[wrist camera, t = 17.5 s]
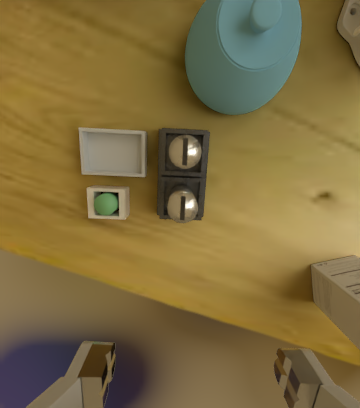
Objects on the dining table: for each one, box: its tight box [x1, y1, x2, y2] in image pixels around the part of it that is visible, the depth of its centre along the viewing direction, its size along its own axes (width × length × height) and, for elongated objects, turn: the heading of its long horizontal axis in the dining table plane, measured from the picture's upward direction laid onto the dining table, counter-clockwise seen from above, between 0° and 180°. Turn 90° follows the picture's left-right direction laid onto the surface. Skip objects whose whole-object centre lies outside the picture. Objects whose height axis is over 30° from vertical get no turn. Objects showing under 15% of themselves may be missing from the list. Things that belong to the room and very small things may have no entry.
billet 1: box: [169, 135, 202, 169], centre depth 28 cm, size 4×4×8 cm
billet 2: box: [167, 185, 198, 223], centre depth 29 cm, size 4×4×8 cm
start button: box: [94, 192, 119, 215], centre depth 32 cm, size 3×3×3 cm
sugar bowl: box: [185, 0, 302, 115], centre depth 24 cm, size 15×15×12 cm
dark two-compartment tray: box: [157, 128, 210, 220], centre depth 32 cm, size 14×8×4 cm, turn 177°
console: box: [87, 185, 130, 220], centre depth 33 cm, size 5×6×3 cm
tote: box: [79, 128, 147, 177], centre depth 32 cm, size 7×10×2 cm
